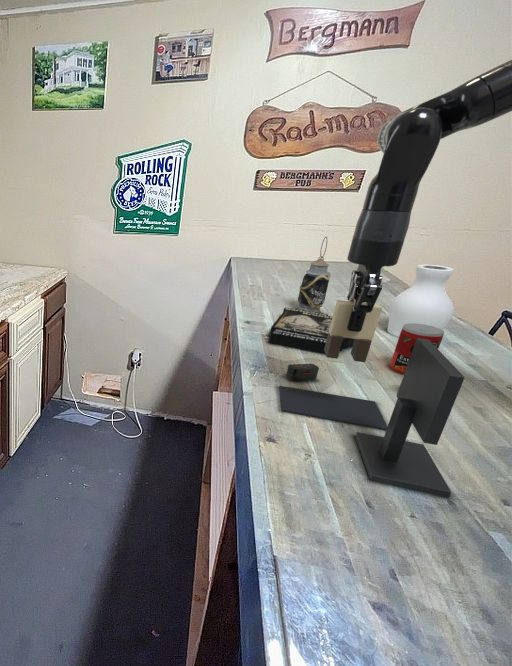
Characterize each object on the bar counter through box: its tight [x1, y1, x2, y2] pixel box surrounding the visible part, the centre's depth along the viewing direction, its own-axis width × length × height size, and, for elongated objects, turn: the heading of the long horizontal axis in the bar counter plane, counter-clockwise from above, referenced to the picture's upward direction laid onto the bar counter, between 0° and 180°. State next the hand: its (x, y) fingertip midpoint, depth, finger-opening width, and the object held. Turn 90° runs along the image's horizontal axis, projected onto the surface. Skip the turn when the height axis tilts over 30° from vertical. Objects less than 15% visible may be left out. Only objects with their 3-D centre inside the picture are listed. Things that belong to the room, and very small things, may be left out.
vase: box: [386, 264, 455, 338], centre depth 131 cm, size 14×14×20 cm
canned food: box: [389, 323, 445, 376], centre depth 109 cm, size 8×8×11 cm
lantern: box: [297, 236, 332, 313], centre depth 152 cm, size 9×8×25 cm
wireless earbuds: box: [285, 363, 320, 382], centre depth 108 cm, size 5×7×3 cm, turn 95°
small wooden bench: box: [324, 299, 383, 363], centre depth 88 cm, size 7×4×11 cm, turn 65°
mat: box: [279, 385, 388, 432], centre depth 95 cm, size 18×12×1 cm, turn 65°
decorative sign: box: [268, 307, 355, 356], centre depth 134 cm, size 21×3×30 cm
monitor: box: [354, 338, 466, 499], centre depth 73 cm, size 10×16×20 cm, turn 155°
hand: (352, 327), depth 88 cm, fingers closed on small wooden bench, 3 cm apart
